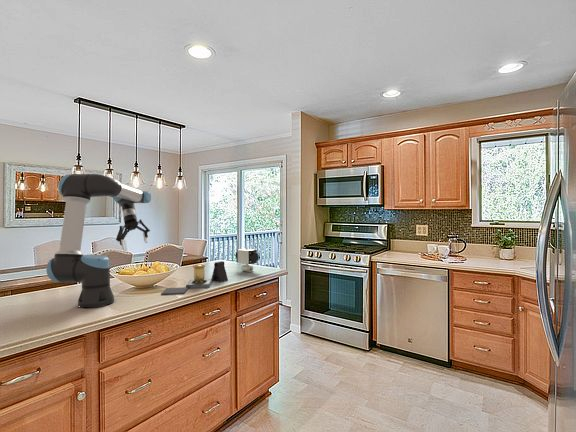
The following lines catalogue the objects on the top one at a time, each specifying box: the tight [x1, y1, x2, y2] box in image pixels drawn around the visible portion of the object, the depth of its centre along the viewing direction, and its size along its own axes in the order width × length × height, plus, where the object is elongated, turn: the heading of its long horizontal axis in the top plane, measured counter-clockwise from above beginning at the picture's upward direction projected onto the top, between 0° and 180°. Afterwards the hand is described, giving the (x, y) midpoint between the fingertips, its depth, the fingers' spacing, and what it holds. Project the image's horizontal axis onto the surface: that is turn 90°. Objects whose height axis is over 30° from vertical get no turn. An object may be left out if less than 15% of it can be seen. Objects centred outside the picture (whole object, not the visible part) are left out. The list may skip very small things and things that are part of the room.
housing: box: [185, 278, 213, 289], centre depth 189 cm, size 14×13×2 cm
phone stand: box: [211, 260, 229, 283], centre depth 202 cm, size 9×6×12 cm, turn 56°
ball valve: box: [234, 247, 259, 273], centre depth 231 cm, size 18×8×18 cm, turn 49°
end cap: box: [192, 263, 206, 284], centre depth 189 cm, size 7×7×12 cm
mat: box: [160, 286, 190, 296], centre depth 175 cm, size 12×12×1 cm
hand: (135, 245), depth 196 cm, fingers open, 13 cm apart
